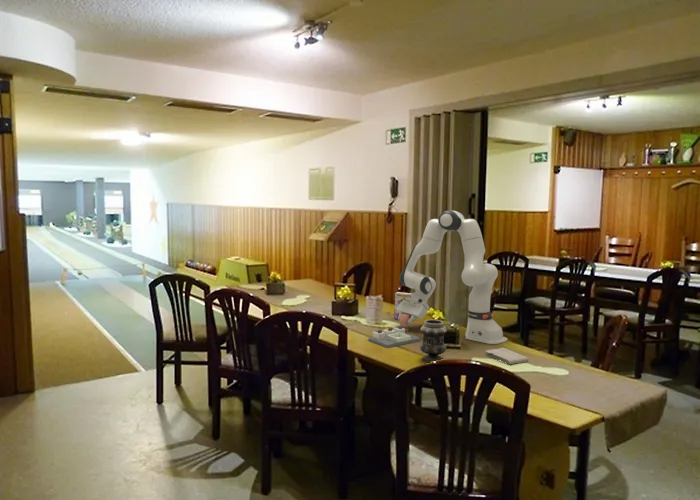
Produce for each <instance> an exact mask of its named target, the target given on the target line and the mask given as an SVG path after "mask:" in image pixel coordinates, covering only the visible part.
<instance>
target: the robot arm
mask: <svg viewBox="0 0 700 500" xmlns="http://www.w3.org/2000/svg"><path fill="white" fill-rule="evenodd" d="M446 232H458V234H459V236H460V240H461V244H462V249H463V250H462V251H463V254H464V255H463V256H464V265H463V266H464V267H463V270H462V272H461V280H462V282H463V284H464V285H466V286H467V287H472V289H471V292H470V293H469V296H468V310H467V324H466V326H467V327H466V329H465V334H464V336H465V339H466V340H470V341H475V342H478V343H483V344H488V345H498V344H502V343H505V342H507V341H508V337H505V336H504V332H503V329H502V327H501V326H500V325H499V324H498V323H497V322H496V321H495V320H494V319H493V317H494V316H495V314H494V313H492V312H491V310H490V309H491V297H492V296H491V295H492V291H493V287H494V284H495V281H496V279H497V278H498V276H499V271H498V269H497V267H496V265H494V264H492V263H486V262H485V263H484V255H485V254H486V247H485V243H484V239H483V235H482V231H481V228H480V225H479V223H478V222H477V220H476V219H473V218H466V217H465V215H464V214H463V213H461V212H459V211H456V210H451V209H450V210H449V209H448V210H445V211H443V212H441V213H440V215H439V216H438V218H433V219H432V218H431V219H429V220H428V221H427V224H426V226H425V229H424V232H423V233H422V234H423V235H422V238H421V240H420V241H419V242H418V243H416V244H415V245H414V246H413V248H412V250H411V253H410V255H409V257H408V259H407V260H406V263H405V266H404V268H403V269H402V271H401V272H400V274H399V278H398V279H399V282H400V284H401V285H402V286H403V287H406V288H409V289H412V290H414V292H413V293H412V294H413V295H412V296H411V298H410V299H409V300H407V299H406V300H404V301H402V302H401V303H400V304H399V306H398V307H397V308H396V310H397V312H398V313H399V317H398V319H397V320H398V321H400V314H404V313H405V314H409V316H410V317H411V318H410V319H408V320H407V322H408V323H409V324H411V323H412V322H413V321H415V320H416V319H417V320H422V319H423V318H424V317H425V316H426V314H427V312H428V311H429V309H430V306H429V305H428V303H427V301H428V299H429V298H430V297H431V296H432V294H433V293H434V291H435V289H436V286H437V283H436V280H434V278H432V277H430V276H428V275H425V274H422V273H419V272H416V271H415V267H416V265H417V263H418V261H419V260H420V259H419V258H420V257H421V256H424V255H432V254H433V255H434V254H436V253H437V252H438V251H439V250H440V248H441V246H442V244H443V239H444V235H445V234H446Z"/></svg>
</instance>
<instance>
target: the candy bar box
mask: <svg viewBox="0 0 700 500" xmlns="http://www.w3.org/2000/svg"><path fill="white" fill-rule="evenodd" d="M412 295H413V293H409V292H403V291H402V292H401V291H396V292H394V320H398V317H399V313H398V312H397V310H396V308H397V307H398V306H399V304H400V303H401V302H402V301H404V300H406V299H407V300H409V299H410V298H411V296H412ZM410 318H411V317H410V316H409V319H410Z"/></svg>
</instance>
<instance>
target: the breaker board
mask: <svg viewBox="0 0 700 500" xmlns="http://www.w3.org/2000/svg"><path fill="white" fill-rule="evenodd" d="M367 338H368V339H367V340H368V341H369V342H371V343H374V344H377V345H378V346H382V347H384V348H387V349H388V348H389V349H390V348H394V347H397V346H402V345H403V346H404V345H407V344H411V343H416V342H417V343H418V342H420V341H421V337H419V336H416V335H413V334H410V333H407V332H406V331H405V329H404V328H402V326H400V325H398V326H395V327H393V328H392V327H386V328H385V329H383V330H382V329H376V330H374V331H372V336H369V337H367Z"/></svg>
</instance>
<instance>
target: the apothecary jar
mask: <svg viewBox="0 0 700 500" xmlns="http://www.w3.org/2000/svg"><path fill="white" fill-rule="evenodd" d="M447 331H448V329H447V328H446V326H445V325H444V321H442V320H440V319H432V318H431V319H425V320H424V324H423V325H421V327H420V332H421V334H422V336H423V337H422V342H421V343H420V345H419V349H420V351H421V352H422V353H424V354H426V355H424V356H422V357H421V360H422V361H424V362H427V363H431V361H436V360H441V359H444V357H443V356H441V355H442V354H444V353H445V352H446V351H447V345H446V344H445V343H444V342H445V341H444V340H445V335H446V333H447Z"/></svg>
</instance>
